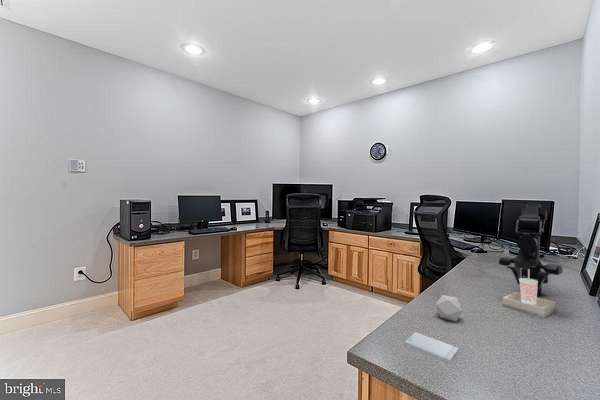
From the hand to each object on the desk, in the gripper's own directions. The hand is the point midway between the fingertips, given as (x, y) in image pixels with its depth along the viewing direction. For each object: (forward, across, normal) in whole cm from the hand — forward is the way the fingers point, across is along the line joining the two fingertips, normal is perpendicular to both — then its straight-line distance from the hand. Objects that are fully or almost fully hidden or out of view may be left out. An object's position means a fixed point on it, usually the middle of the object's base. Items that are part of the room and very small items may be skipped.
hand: (528, 286), depth 106 cm
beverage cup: (+7, 0, 0) cm, 7 cm away
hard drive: (+9, -4, -61) cm, 62 cm away
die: (+9, -12, -37) cm, 40 cm away
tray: (+9, 0, 0) cm, 9 cm away
